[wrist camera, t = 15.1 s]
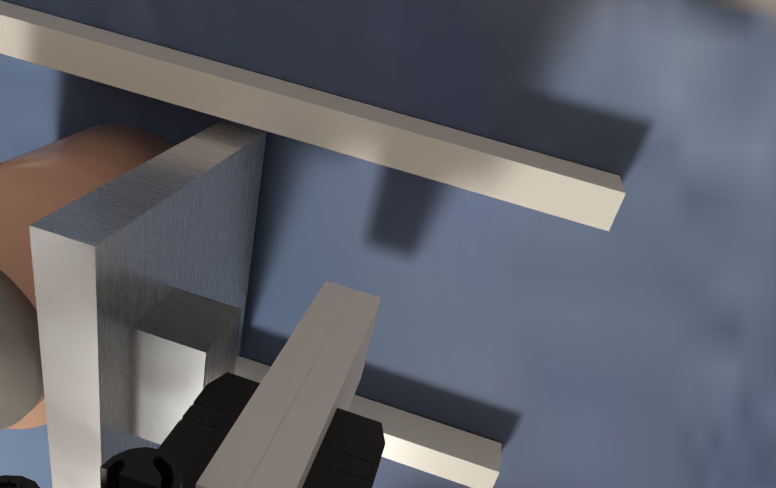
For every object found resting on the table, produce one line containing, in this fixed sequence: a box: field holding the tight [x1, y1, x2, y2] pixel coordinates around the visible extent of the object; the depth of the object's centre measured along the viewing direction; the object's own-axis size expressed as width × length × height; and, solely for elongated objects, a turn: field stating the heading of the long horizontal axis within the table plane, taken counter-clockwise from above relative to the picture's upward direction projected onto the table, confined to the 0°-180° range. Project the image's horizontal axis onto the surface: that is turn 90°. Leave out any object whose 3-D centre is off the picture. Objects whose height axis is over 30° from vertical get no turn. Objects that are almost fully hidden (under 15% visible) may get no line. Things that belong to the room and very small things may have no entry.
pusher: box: [29, 119, 267, 488], centre depth 15 cm, size 3×8×7 cm, turn 168°
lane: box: [0, 0, 626, 488], centre depth 16 cm, size 25×10×4 cm, turn 78°
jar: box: [0, 123, 174, 429], centre depth 15 cm, size 6×6×7 cm
